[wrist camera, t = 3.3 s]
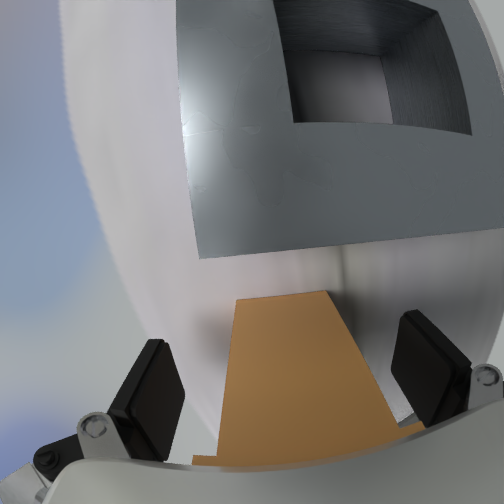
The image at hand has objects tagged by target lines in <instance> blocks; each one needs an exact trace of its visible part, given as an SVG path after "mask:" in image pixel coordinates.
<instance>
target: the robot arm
mask: <svg viewBox="0 0 504 504" xmlns="http://www.w3.org/2000/svg"><path fill="white" fill-rule="evenodd" d="M471 364H472V363H471V361H470V360H469V359H468V358H467V357H466V356H465V355H464V354H463V353H462V352H461V351H460V350H459V349H458V348H457V347H456V346H455V345H454V344H453V343H452V342H451V341H450V340H449V339H448V338H447V337H446V336H445V335H444V334H443V333H442V332H441V331H440V330H439V329H438V328H437V327H436V326H435V325H434V324H433V323H432V322H431V321H430V320H429V319H428V318H427V317H425V316H424V315H423V314H422V313H421V312H420V311H419V310H418V309H416V310H411V311H407V312H405V313H404V314H403V316H401V318H400V323H399V329H398V334H397V340H396V345H395V350H394V355H393V359H392V364H391V372H392V375H393V376H394V378H395V380H396V381H397V383H398V385H399V386H400V388H401V390H402V391H403V393H404V395H405V396H406V398H407V400H408V402H409V403H410V405H411V407H412V408H413V410H414V412H415V414H416V415H417V417H418V419H419V421H422V423H423V425H424V427H425V428H426V427H427V429H424V430H422V431H419V432H417V433H414V434H411V435H409V436H406V437H403V438H400V439H397V440H394V441H391V442H388V443H385V444H381V445H378V446H375V447H371V448H367V449H363V450H360V451H356V452H351V453H347V454H343V455H338V456H333V457H328V458H322V459H316V460H310V461H303V462H296V463H287V464H276V465H263V466H234V467H227V466H198V465H182V464H172V463H163V461H167V460H168V457H169V454H170V450H171V446H172V442H173V439H174V435H175V431H176V427H177V424H178V420H179V417H180V413H181V410H182V406H183V402H184V399H185V391H184V388H183V385H182V382H181V380H180V377H179V374H178V371H177V368H176V365H175V362H174V359H173V356H172V353H171V349H170V346H169V344H168V343H165V342H164V340H163V339H149V340H148V341H147V343H146V344H145V346H144V348H143V349H142V351H141V353H140V355H139V356H138V358H137V360H136V361H135V363H134V365H133V367H132V368H131V370H130V372H129V373H128V375H127V377H126V379H125V381H124V382H123V384H122V386H121V388H120V389H119V391H118V393H117V395H116V397H115V398H114V400H113V402H112V404H111V406H110V408H109V410H108V411H107V413H103V412H92V413H89V414H87V415H85V416H84V417H83V418H81V419H80V421H79V422H78V425H77V434H74V435H72V436H69V437H67V438H64V439H62V440H59V441H56V442H54V443H51V444H48V445H45V446H43V447H41V448H39V449H38V450H37V451H36V453H35V454H34V458H33V464H30V462H28V463H27V464H25V465H24V466H22V467H21V468H19V469H18V470H16V471H15V472H13V473H12V474H10V475H9V476H7V477H6V478H4V479H3V480H1V481H0V498H1V500H2V502H3V504H504V381H503V377H502V373H501V372H500V370H499V369H498V368H497V367H495V366H493V365H490V364H480V365H477V366H476V367H474V369H472V368H471V367H470V366H471Z"/></svg>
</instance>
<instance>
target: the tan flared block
mask: <svg viewBox="0 0 504 504" xmlns="http://www.w3.org/2000/svg"><path fill="white" fill-rule="evenodd" d="M424 429H425V427H424V425H423V423H422V421H419V422H417V423H414V424H411V425H409V426H406V427H403V428H399V426H398V424H397V422H396V420H395V418H394V416H393V414H392V412H391V410H390V408H389V406H388V404H387V402H386V400H385V398H384V396H383V394H382V392H381V390H380V388H379V386H378V384H377V382H376V380H375V378H374V376H373V375H372V373H371V371H370V369H369V367H368V365H367V363H366V361H365V360H364V358H363V356H362V354H361V352H360V350H359V348H358V347H357V345H356V343H355V341H354V339H353V337H352V336H351V334H350V332H349V330H348V328H347V327H346V325H345V323H344V321H343V320H342V318H341V316H340V314H339V313H338V311H337V309H336V307H335V306H334V304H333V302H332V300H331V299H330V297H329V295H328V294H327V292H326V290H325V291H317V292H309V293H300V294H292V295H283V296H273V297H263V298H253V299H242V300H236V307H235V315H234V322H233V330H232V337H231V345H230V352H229V360H228V368H227V375H226V383H225V391H224V399H223V407H222V415H221V423H220V431H219V439H218V448H217V456H201V455H199V456H198V455H193V460H192V465H198V466H227V467H234V466H263V465H276V464H287V463H296V462H303V461H310V460H316V459H322V458H328V457H333V456H338V455H343V454H347V453H351V452H356V451H360V450H363V449H367V448H371V447H375V446H378V445H381V444H385V443H388V442H391V441H394V440H397V439H400V438H403V437H406V436H409V435H411V434H414V433H417V432H419V431H422V430H424Z"/></svg>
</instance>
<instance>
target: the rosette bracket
mask: <svg viewBox="0 0 504 504" xmlns="http://www.w3.org/2000/svg"><path fill="white" fill-rule="evenodd" d="M176 35H177V61H178V80H179V95H180V108H181V120H182V131H183V141H184V151H185V160H186V168H187V177H188V185H189V193H190V200H191V207H192V214H193V221H194V228H195V235H196V241H197V247H198V253H199V259H207V258H217V257H226V256H236V255H246V254H256V253H266V252H276V251H286V250H295V249H305V248H315V247H325V246H334V245H344V244H354V243H364V242H373V241H383V240H392V239H402V238H412V237H421V236H431V235H440V234H450V233H459V232H469V231H478V230H487V229H497V228H504V96H503V92H502V88H501V84H500V80H499V77H498V73H497V70H496V67H495V63H494V60H493V57H492V55H491V52H490V49H489V46H488V44H487V41H486V38H485V36H484V33H483V31H482V29H481V26H480V24H479V22H478V20H477V18H476V15H475V13H474V11H473V9H472V7H471V5H470V3H469V1H468V0H176ZM283 50H320V51H338V52H349V53H359V54H367V55H374V56H380V57H381V61H382V65H383V70H384V74H385V78H386V83H387V88H388V93H389V98H390V104H391V110H392V116H393V123H394V125H393V124H379V123H358V122H309V123H293V115H292V107H291V100H290V93H289V86H288V80H287V73H286V67H285V61H284V55H283Z"/></svg>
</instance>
